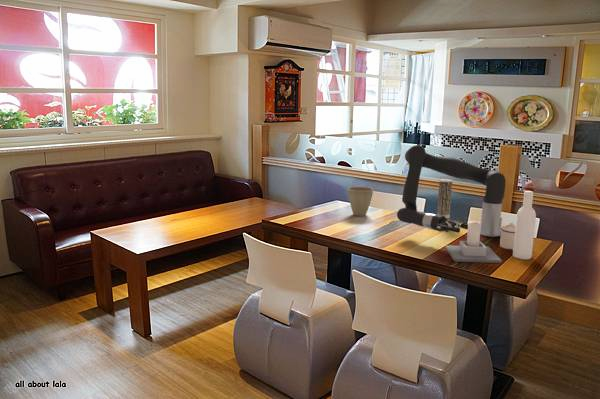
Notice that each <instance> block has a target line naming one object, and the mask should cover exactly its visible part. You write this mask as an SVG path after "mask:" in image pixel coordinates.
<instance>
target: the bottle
mask: <svg viewBox="0 0 600 399" xmlns="http://www.w3.org/2000/svg"><path fill="white" fill-rule="evenodd" d="M533 200H534V191H531V190H524V193H523V202H522V206H521V207H520V208H519V209H518V211H517V212H516V220H515V226H516V228H515V238H514V248H513V249H512V256H513V257H514V258H515V259H516V258H517V259H519V260H530V259H532V256H533V248H534V247H533V246H534V238H535V237H534V236H535V229H536V220H537V214H536V210H535V209H534V208H533Z"/></svg>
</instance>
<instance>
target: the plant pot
mask: <svg viewBox="0 0 600 399" xmlns="http://www.w3.org/2000/svg"><path fill="white" fill-rule="evenodd" d="M347 191H348V198H349V203H350V207H351V212H352V215H353V216H355V217H365V216H366V215H367V212H368V210H369V208H370V205H371V202H372V197H373V193H374V192H373V191H374V189H373V188H372V187H367V186H350V187H348V189H347Z"/></svg>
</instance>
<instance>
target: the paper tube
mask: <svg viewBox="0 0 600 399" xmlns="http://www.w3.org/2000/svg"><path fill="white" fill-rule="evenodd" d="M452 189H453V179H449V178H448V179H447V178H441V179H439V183H438V197H437V213H436V214H437V215H441V216H445V217H446V219H447V221H448V220H450V217H451V215H450V214H451V206H452V205H451V203H452Z"/></svg>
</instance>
